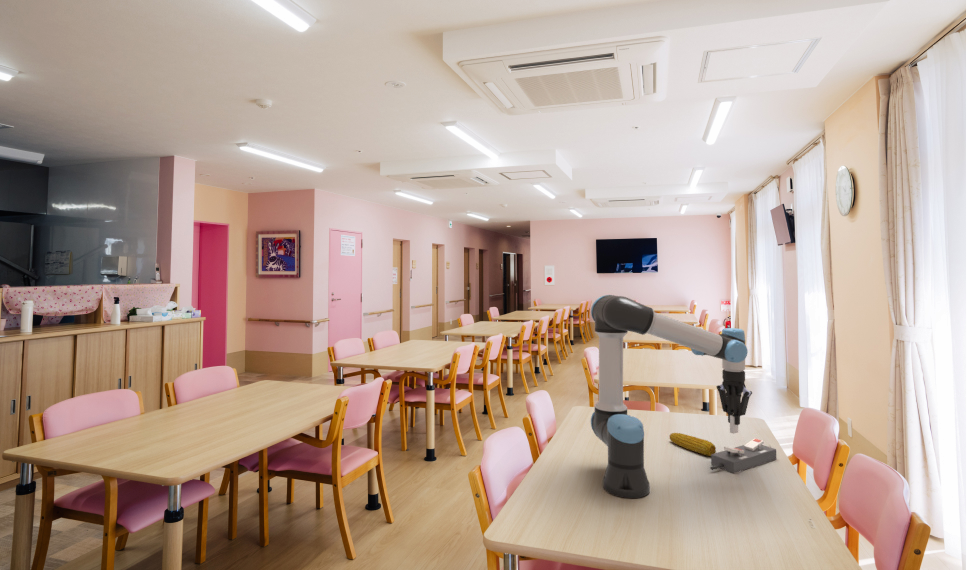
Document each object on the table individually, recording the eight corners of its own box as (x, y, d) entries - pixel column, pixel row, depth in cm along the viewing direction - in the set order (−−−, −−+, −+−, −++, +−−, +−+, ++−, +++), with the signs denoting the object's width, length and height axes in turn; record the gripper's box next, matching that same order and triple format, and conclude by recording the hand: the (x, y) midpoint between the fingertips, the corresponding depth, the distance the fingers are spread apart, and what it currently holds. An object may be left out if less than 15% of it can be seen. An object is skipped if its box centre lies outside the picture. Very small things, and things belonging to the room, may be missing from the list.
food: (718, 456, 186) (717, 441, 186) (708, 459, 183) (708, 444, 183) (673, 440, 205) (673, 427, 205) (664, 443, 202) (664, 429, 202)
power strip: (723, 477, 167) (722, 463, 167) (700, 468, 175) (700, 454, 175) (776, 459, 182) (776, 446, 182) (753, 452, 190) (753, 439, 190)
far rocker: (753, 451, 179) (752, 448, 179) (743, 447, 183) (743, 445, 182) (764, 443, 182) (763, 440, 182) (754, 440, 186) (754, 437, 186)
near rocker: (733, 452, 174) (733, 449, 174) (723, 449, 177) (723, 446, 177) (744, 453, 177) (744, 450, 177) (734, 450, 180) (735, 447, 180)
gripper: (756, 371, 172) (757, 435, 173) (724, 366, 184) (724, 426, 184) (744, 373, 169) (744, 439, 169) (711, 368, 180) (711, 429, 181)
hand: (734, 432), depth 177 cm, fingers closed
